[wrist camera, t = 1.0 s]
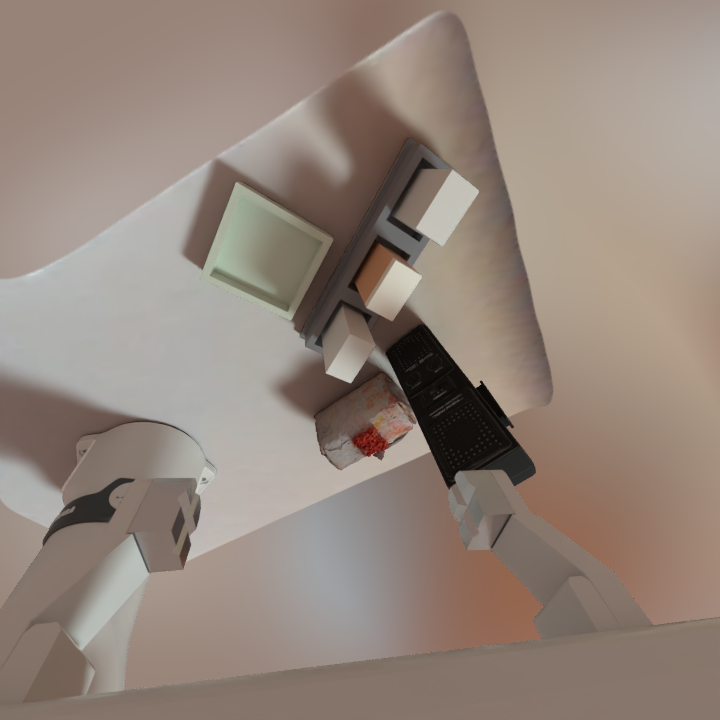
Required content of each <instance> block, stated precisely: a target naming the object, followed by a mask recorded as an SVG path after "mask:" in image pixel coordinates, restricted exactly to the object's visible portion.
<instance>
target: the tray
mask: <svg viewBox="0 0 720 720" xmlns="http://www.w3.org/2000/svg"><path fill="white" fill-rule="evenodd" d="M333 240H334V239H333V237H332V235H330V234H329V233H327V232H325V231H324V230H322V229H320V228H318V227H317V226H315V225H313V224H312V223H310V222H308V221H307V220H305V219H303V218H302V217H300V216H298V215H297V214H295V213H293V212H292V211H290V210H288V209H287V208H285V207H283V206H282V205H280V204H278V203H277V202H275V201H273V200H271V199H270V198H268V197H266V196H265V195H263V194H261V193H260V192H258V191H256V190H255V189H253V188H251V187H250V186H248V185H246V184H245V183H243V182H241V181H238V182H236V183H235V186H234V189H233V191H232V194H231V197H230V199H229V202H228V204H227V207H226V210H225V212H224V215H223V218H222V220H221V223H220V226H219V228H218V231H217V234H216V236H215V239H214V241H213V244H212V247H211V249H210V252H209V255H208V257H207V260H206V263H205V265H204V268H203V271H202V273H201V276H200V279H201V280H203V281H206V282H208V283H210V284H212V285H214V286H216V287H219V288H221V289H223V290H225V291H227V292H230V293H232V294H234V295H236V296H238V297H240V298H243V299H245V300H247V301H249V302H251V303H254V304H256V305H258V306H260V307H262V308H264V309H267V310H269V311H271V312H273V313H275V314H278V315H280V316H282V317H284V318H286V319H288V320H292V318H293V316H294V314H295V312H296V310H297V308H298V306H299V305H300V303H301V301H302V299H303V297H304V295H305V293H306V291H307V289H308V288H309V286H310V284H311V282H312V280H313V278H314V276H315V274H316V272H317V271H318V269H319V267H320V265H321V263H322V261H323V259H324V257H325V255H326V253H327V252H328V250H329V248H330V246H331V244H332V242H333Z"/></svg>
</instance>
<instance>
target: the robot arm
mask: <svg viewBox="0 0 720 720" xmlns="http://www.w3.org/2000/svg"><path fill="white" fill-rule="evenodd" d="M76 454H77V466H76V467H75V469H74V470H73V472H72V473H71V475H70V476H69V478H68V479H67V481H66V482H65V484H64V485H63V487H62V489H61V492H62V493H63V502H64V505H65V507H64V508H63V510H62V511H61V513H60V514H59V515H58V516H57V517H56V518H55V520H54V521H53V523H52V524H51V526H50V528H49V531H48V533H47V534H46V536H45V537H44V539H43V547H42V549H41V550H40V552H39V553H38V555H37V556H36V558H35V559H34V561H33V562H32V563H31V565H30V566H29V568H28V569H27V571H26V572H25V574H24V575H23V577H22V578H21V580H20V581H19V582H18V584H17V585H16V587H15V588H14V590H13V591H12V593H11V594H10V596H9V597H8V599H7V600H6V602H5V603H4V604H3V606H2V607H1V609H0V720H720V617H715V618H708V619H700V620H691V621H683V622H675V623H667V624H659V625H653V624H652V623H651V621H650V620H649V619H648V617H647V616H646V614H645V613H644V612H643V610H642V609H641V608H640V606H639V605H638V604H637V602H636V601H635V600H634V598H633V597H632V595H631V594H630V593H629V591H628V590H627V589H626V587H625V586H624V585H623V583H622V582H621V581H620V579H619V578H618V576H617V575H616V574H615V572H614V571H612V570H611V569H610V568H608V567H607V566H606V565H604V564H603V563H602V562H600V561H599V560H598V559H596V558H595V557H593V556H592V555H590V554H589V553H588V552H587V551H585V550H584V549H583V548H581V547H580V546H579V545H577V544H576V543H574V542H573V541H572V540H570V539H569V538H568V537H567V536H565V535H564V534H562V533H561V532H560V531H558V530H557V529H556V528H554V527H553V526H552V525H550V524H549V523H548V522H546V521H545V520H543V519H542V518H541V517H540V516H538V515H537V514H531V512H530V511H529V509H528V507H527V506H526V504H525V503H524V501H523V500H522V498H521V496H520V495H519V493H518V491H517V490H516V488H515V487H514V485H513V484H512V482H511V480H510V479H509V477H508V476H507V474H506V473H505V472H504V471H503V470H470V471H459V472H458V473H456V476H455V481H456V484H455V485H453V486H452V487H451V488H450V491H449V506H450V510H451V513H452V516H453V517H454V518H455V519H456V520H457V521H459V522H460V525H459V528H458V531H459V533H460V536H461V538H462V541H463V543H464V545H465V548H466V550H484V549H492V550H491V551H492V552H493V553H494V554H495V555H496V556H497V557H498V558H499V559H500V560H501V562H502V563H503V564H504V565H505V566H506V567H507V568H508V569H509V570H510V571H511V572H512V573H513V574H514V575H515V576H516V578H517V579H518V580H519V581H520V582H521V583H522V584H523V585H524V586H525V587H526V588H527V589H528V590H529V591H530V592H531V593H532V595H534V597H535V598H536V599H537V600H538V601H539V602H540V603H541V604H542V605H543V606H544V607H543V608H542V609H541V610H540V611H539V613H538V614H537V615H536V616H535V619H534V621H533V622H534V624H535V626H536V628H537V630H538V633H539V635H540V637H541V639H537V640H529V641H521V642H513V643H504V644H496V645H488V646H480V647H472V648H464V649H456V650H448V651H439V652H431V653H423V654H415V655H407V656H399V657H391V658H383V659H375V660H366V661H359V662H350V663H343V664H334V665H327V666H318V667H310V668H301V669H294V670H286V671H278V672H269V673H261V674H253V675H245V676H237V677H229V678H220V679H212V680H204V681H196V682H189V683H180V684H172V685H164V686H156V687H148V688H140V689H131V690H124V684H125V683H124V682H125V671H126V661H127V655H128V648H129V643H130V638H131V633H132V630H133V626H134V623H135V620H136V617H137V613H138V610H139V607H140V604H141V601H142V598H143V595H144V592H145V589H146V586H147V583H148V581H149V577H150V575H151V573H152V572H162V571H173V570H182V569H183V568H184V565H185V562H186V559H187V556H188V553H189V550H190V547H191V543H190V538H189V535H190V534H191V533H193V532H194V531H195V530H196V527H197V524H198V521H199V516H200V509H201V501H200V496H199V494H200V493H201V492H202V491H203V489H204V488H205V487H206V486H207V485H208V484H209V483H210V482H211V481H212V480H213V479H214V477H215V475H216V469H215V468H214V467H213V466H212V465H211V464H210V463H209V462H208V461H206V459H205V458H204V455H203V453H202V451H201V449H200V447H199V446H198V444H197V443H196V442H195V441H194V440H193V439H192V438H191V437H189V436H188V435H186V434H185V433H183V432H181V431H179V430H177V429H175V428H172V427H170V426H166V425H163V424H158V423H151V422H134V423H127V424H123V425H120V426H117V427H115V428H113V429H111V430H109V431H107V432H104V433H101V434H93V435H87V436H83V437H81V438H80V439H79V441H78V442H77V444H76Z"/></svg>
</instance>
